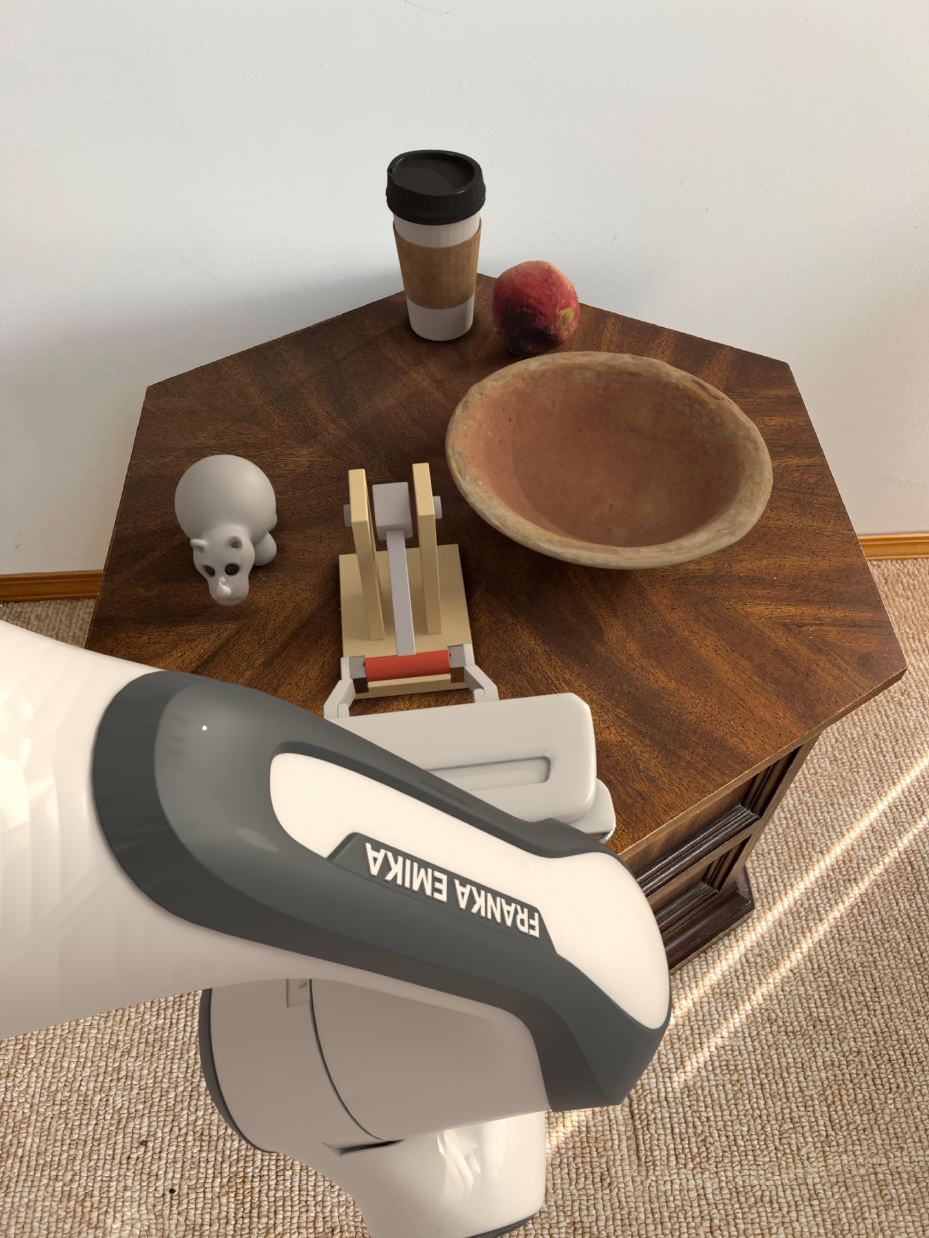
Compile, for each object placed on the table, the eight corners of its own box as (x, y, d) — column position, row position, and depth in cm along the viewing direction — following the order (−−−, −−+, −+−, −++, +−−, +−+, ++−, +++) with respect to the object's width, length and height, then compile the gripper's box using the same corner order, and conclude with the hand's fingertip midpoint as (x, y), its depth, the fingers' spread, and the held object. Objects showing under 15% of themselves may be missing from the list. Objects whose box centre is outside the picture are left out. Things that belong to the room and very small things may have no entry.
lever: (450, 678, 57) (450, 668, 55) (368, 686, 57) (365, 677, 55) (430, 495, 61) (430, 479, 58) (353, 502, 60) (349, 486, 58)
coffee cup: (394, 298, 92) (380, 145, 80) (480, 291, 92) (479, 138, 80) (400, 353, 87) (386, 198, 75) (491, 345, 87) (492, 190, 75)
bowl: (803, 595, 70) (836, 523, 63) (493, 665, 66) (494, 596, 60) (682, 391, 83) (698, 314, 77) (419, 440, 80) (414, 364, 73)
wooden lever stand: (476, 687, 65) (475, 559, 54) (346, 700, 65) (318, 574, 54) (458, 555, 72) (453, 418, 61) (341, 566, 72) (314, 430, 61)
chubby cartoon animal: (183, 639, 68) (149, 564, 61) (197, 516, 75) (168, 436, 68) (283, 631, 68) (260, 555, 62) (287, 509, 75) (268, 430, 69)
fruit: (585, 332, 88) (593, 255, 82) (560, 383, 84) (566, 306, 78) (507, 314, 90) (508, 238, 83) (478, 363, 86) (478, 286, 79)
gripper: (631, 828, 47) (579, 606, 55) (219, 878, 46) (227, 644, 54) (617, 873, 52) (571, 664, 60) (246, 919, 51) (249, 700, 59)
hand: (406, 655), depth 57 cm, fingers closed on lever, 5 cm apart
